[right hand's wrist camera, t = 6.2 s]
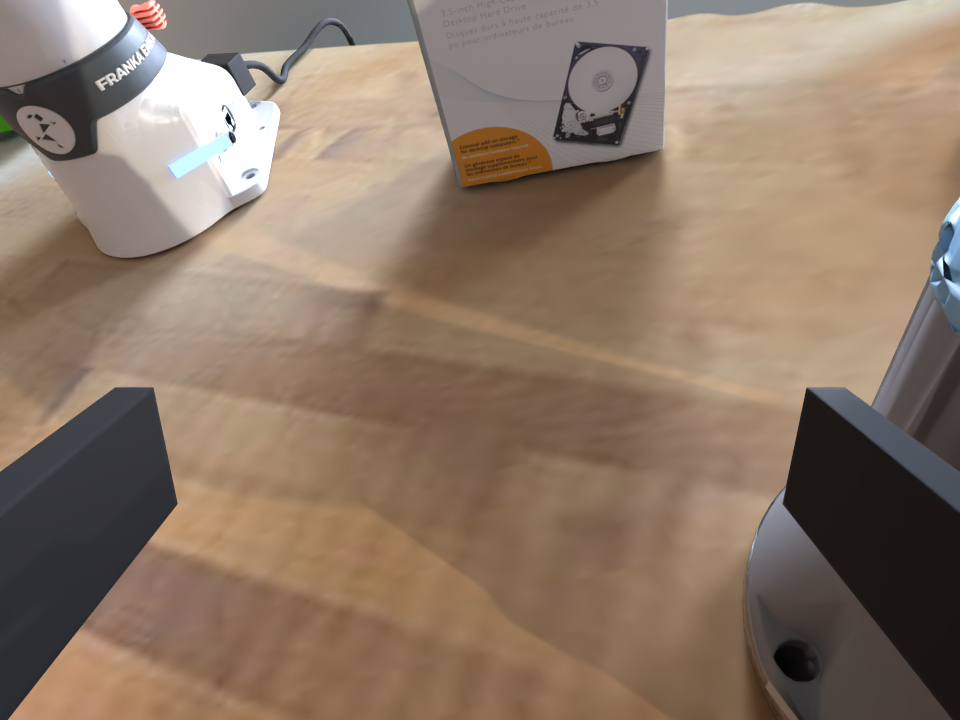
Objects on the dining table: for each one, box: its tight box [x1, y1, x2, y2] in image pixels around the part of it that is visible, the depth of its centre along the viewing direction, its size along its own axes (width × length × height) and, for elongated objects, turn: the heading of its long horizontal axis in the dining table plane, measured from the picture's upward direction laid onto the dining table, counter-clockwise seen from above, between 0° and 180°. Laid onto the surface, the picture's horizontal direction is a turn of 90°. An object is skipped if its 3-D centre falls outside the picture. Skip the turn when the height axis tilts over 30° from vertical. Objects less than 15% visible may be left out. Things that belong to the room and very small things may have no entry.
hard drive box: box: [407, 0, 667, 188], centre depth 40 cm, size 16×8×20 cm, turn 91°
